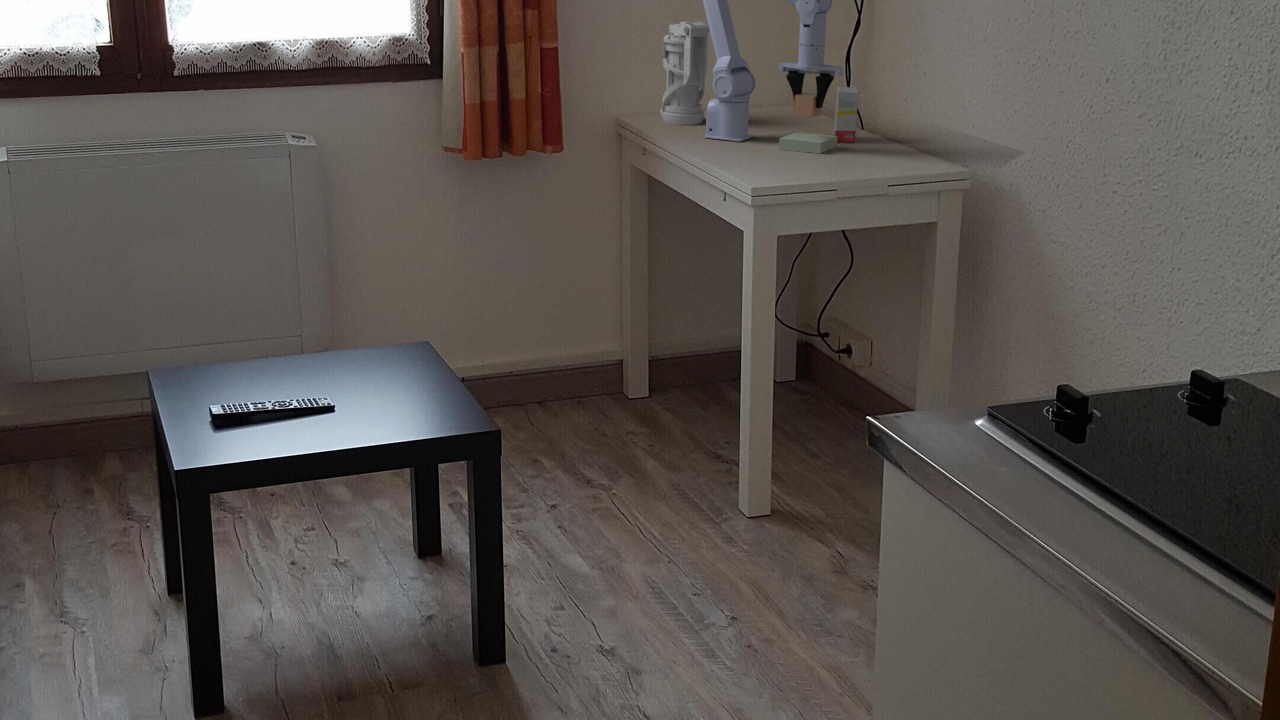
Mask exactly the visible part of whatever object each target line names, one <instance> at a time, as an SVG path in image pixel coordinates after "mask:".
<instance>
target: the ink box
mask: <svg viewBox="0 0 1280 720" xmlns="http://www.w3.org/2000/svg"><path fill="white" fill-rule="evenodd" d="M858 104H859V91H858V87H848V86H847V87H846V86H837V87H836V100H835V113H834V114H835V115H834V127H833V136H837V143H845V142H850V143H849V144H855V143H856V133H857V132H856V131H857V120H858V119H857V118H858Z"/></svg>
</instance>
